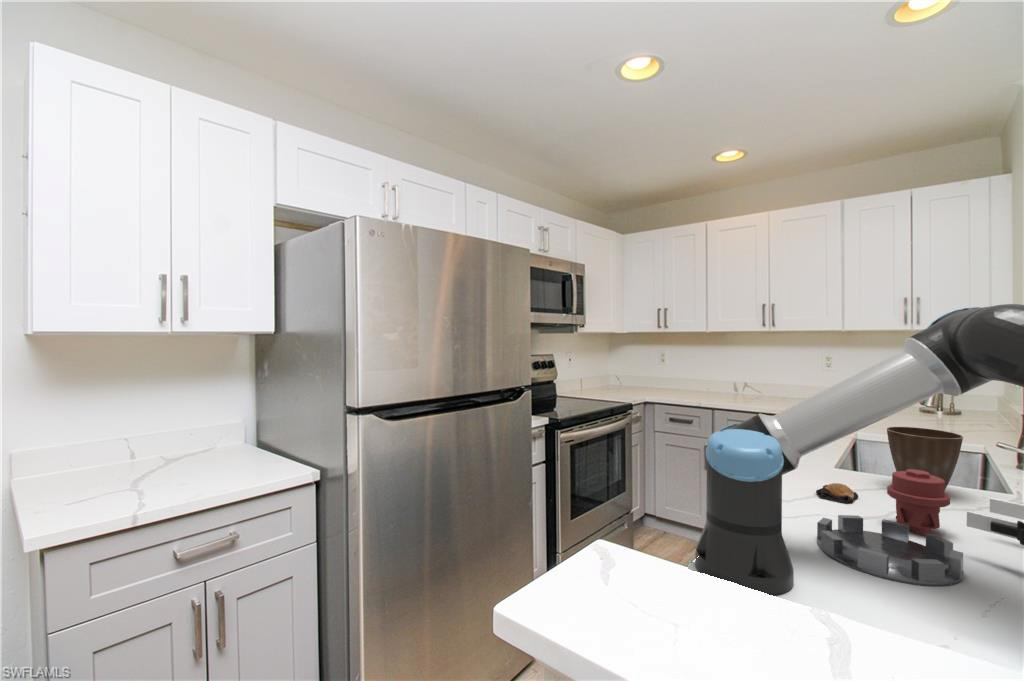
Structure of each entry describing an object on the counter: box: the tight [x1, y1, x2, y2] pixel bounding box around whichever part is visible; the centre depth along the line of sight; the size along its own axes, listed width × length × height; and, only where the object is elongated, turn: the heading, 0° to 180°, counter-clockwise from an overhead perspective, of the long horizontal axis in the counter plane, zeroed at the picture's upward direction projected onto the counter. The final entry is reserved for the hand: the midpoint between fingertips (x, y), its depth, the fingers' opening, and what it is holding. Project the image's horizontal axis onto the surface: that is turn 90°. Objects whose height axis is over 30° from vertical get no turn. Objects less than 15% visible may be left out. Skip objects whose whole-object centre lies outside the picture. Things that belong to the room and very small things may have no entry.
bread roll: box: [815, 482, 859, 505], centre depth 119 cm, size 11×8×4 cm
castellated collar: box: [816, 514, 965, 587], centre depth 86 cm, size 21×21×4 cm
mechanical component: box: [886, 469, 951, 537], centre depth 98 cm, size 12×10×10 cm
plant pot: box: [886, 426, 964, 490], centre depth 122 cm, size 15×15×16 cm
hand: (978, 511), depth 90 cm, fingers open, 13 cm apart
